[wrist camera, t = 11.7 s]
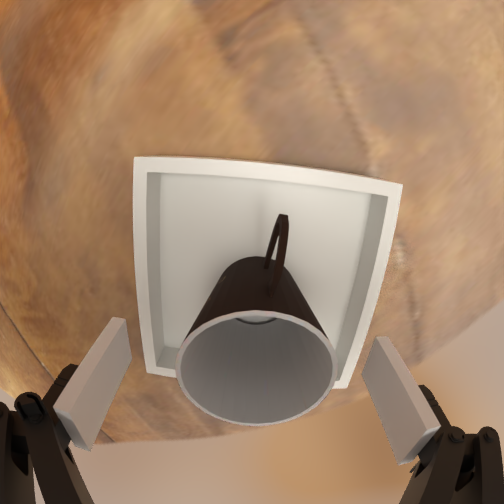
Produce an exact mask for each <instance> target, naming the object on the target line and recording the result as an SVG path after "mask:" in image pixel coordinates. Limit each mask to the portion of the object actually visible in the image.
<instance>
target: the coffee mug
mask: <svg viewBox="0 0 504 504" xmlns="http://www.w3.org/2000/svg"><path fill="white" fill-rule="evenodd" d="M288 234H289V219H288V215H285V214H279V215H278V218H277V220H276V223H275V225H274V228H273V231H272V235H271V238H270V242H269V245H268V249H267V252H266V256H265V257H261V256H252V257H246V258H243V259H240V260H238V261H236V262H234V263H232V264H231V265H230V266H229V267H227V268H226V270H225V271H224V272H223V273H222V275H221V277H220V278H219V280H218V282H217V284H216V285H215V287H214V289H213V290H212V292H211V294H210V296H209V297H208V299H207V301H206V303H205V304H204V306H203V308H202V310H201V311H200V313H199V315H198V316H197V318H196V320H195V322H194V323H193V325H192V327H191V329H190V330H189V332H188V334H187V336H186V337H185V339H184V341H183V343H182V345H181V347H180V349H179V351H178V353H177V357H176V363H175V371H176V378H177V381H178V383H179V386H180V388H181V390H182V391H183V393H184V394H185V396H186V397H187V398H188V399H189V400H190V401H191V402H192V403H193V404H194V405H195V406H196V407H198V408H199V409H200V410H202V411H203V412H205V413H206V414H208V415H210V416H212V417H215V418H217V419H219V420H222V421H225V422H229V423H233V424H238V425H244V426H267V425H275V424H279V423H284V422H287V421H290V420H293V419H296V418H298V417H300V416H302V415H304V414H306V413H308V412H309V411H311V410H312V409H314V408H315V407H316V406H318V405H319V404H320V403H321V402H322V401H323V400H324V399H325V398H326V397H327V395H328V394H329V392H330V391H331V389H332V387H333V386H334V383H335V380H336V377H337V372H338V361H337V356H336V352H335V350H334V348H333V346H332V344H331V343H330V341H329V339H328V337H327V335H326V334H325V332H324V330H323V329H322V327H321V325H320V323H319V322H318V320H317V318H316V316H315V315H314V313H313V311H312V310H311V308H310V306H309V304H308V303H307V301H306V299H305V298H304V296H303V294H302V293H301V291H300V289H299V287H298V286H297V284H296V282H295V281H294V279H293V277H292V276H291V274H290V272H289V271H288V270H287V269H286V268H285V267H284V262H285V256H286V250H287V243H288ZM278 236H279V239H278ZM277 239H278V247H277V254H276V259H275V260H273V259H271V258H272V255H273V252H274V248H275V245H276V242H277Z"/></svg>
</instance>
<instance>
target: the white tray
mask: <svg viewBox="0 0 504 504" xmlns="http://www.w3.org/2000/svg"><path fill="white" fill-rule="evenodd" d="M402 187H403V185H402V184H399V183H396V182H392V181H388V180H385V179H381V178H376V177H371V176H365V175H360V174H354V173H348V172H342V171H335V170H329V169H322V168H315V167H308V166H300V165H292V164H283V163H274V162H264V161H254V160H242V159H229V158H214V157H195V156H165V155H151V156H139V157H134V170H133V240H134V262H135V278H136V291H137V302H138V312H139V321H140V330H141V337H142V345H143V352H144V358H145V365H146V371H147V373H151V374H156V375H162V376H168V377H174V378H176V371H175V363H176V357H177V353H178V351H179V349H180V347H181V345H182V343H183V341H184V339H185V337H186V336H187V334H188V332H189V330H190V329H191V327H192V325H193V323H194V322H195V320H196V318H197V316H198V315H199V313H200V311H201V310H202V308H203V306H204V304H205V303H206V301H207V299H208V297H209V296H210V294H211V292H212V290H213V289H214V287H215V285H216V284H217V282H218V280H219V278H220V277H221V275H222V273H223V272H224V271H225V270H226V268H227V267H229V266H230V265H231V264H232V263H234V262H236V261H238V260H240V259H243V258H246V257H252V256H261V257H265V256H266V252H267V249H268V245H269V242H270V238H271V235H272V231H273V228H274V225H275V223H276V220H277V218H278V215H279V214H285V215H288V219H289V234H288V243H287V250H286V256H285V262H284V267H285V268H286V269H287V270H288V271H289V272H290V274H291V276H292V277H293V279H294V281H295V282H296V284H297V286H298V287H299V289H300V291H301V293H302V294H303V296H304V298H305V299H306V301H307V303H308V304H309V306H310V308H311V310H312V311H313V313H314V315H315V316H316V318H317V320H318V322H319V323H320V325H321V327H322V329H323V330H324V332H325V334H326V335H327V337H328V339H329V341H330V343H331V344H332V346H333V348H334V350H335V352H336V356H337V361H338V372H337V377H336V380H335V383H334V386H333V387H332V388H347V386H348V384H349V381H350V379H351V376H352V374H353V371H354V368H355V366H356V363H357V360H358V358H359V355H360V352H361V349H362V346H363V344H364V341H365V338H366V335H367V332H368V329H369V326H370V323H371V319H372V316H373V313H374V310H375V306H376V303H377V299H378V296H379V292H380V289H381V285H382V282H383V278H384V274H385V270H386V266H387V262H388V258H389V254H390V249H391V245H392V240H393V236H394V231H395V226H396V221H397V216H398V210H399V205H400V199H401V193H402ZM278 239H279V236H278ZM278 239H277V242H276V245H275V248H274V252H273V255H272V258H271V259H273V260H275V259H276V254H277V247H278Z"/></svg>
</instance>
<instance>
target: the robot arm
mask: <svg viewBox="0 0 504 504" xmlns="http://www.w3.org/2000/svg"><path fill="white" fill-rule="evenodd" d="M131 361H132V355H131V349H130V344H129V337H128V331H127V324H126V319H123V318H117V317H112V318H111V320H110V321H109V323H108V324H107V325H106V327H105V328H104V330H103V331H102V332H101V334H100V335H99V337H98V338H97V340H96V341H95V343H94V344H93V345H92V347H91V348H90V350H89V351H88V353H87V354H86V356H85V357H84V359H83V360H82V362H81V363H80V365H79V366H78V365H74V364H70V365H68V366H67V367H65V368H64V369H63V370H62V371H61V373H60V374H59V375H58V378H56V380H55V381H54V384H52V386H51V387H50V389H49V390H48V392H47V393H46V395H45V396H44V398H43V399H42V400H41V398H40V396H39V395H37V394H36V393H33V392H25V393H23V394H21V395H19V396H18V397H17V398H16V400H15V403H14V407H15V409H16V410H17V411H10V410H9V409H8V407H7V406H6V404H4V403H3V402H0V504H36V502H35V492H34V479H33V468H34V471H35V474H36V478H37V481H38V484H39V487H40V490H41V493H42V495H43V498H44V501H45V504H94V502H93V500H92V498H91V496H90V494H89V492H88V490H87V488H86V486H85V483H84V481H83V479H82V477H81V475H80V472H79V470H78V468H77V465H76V463H75V460H74V458H73V455H72V453H71V450H70V448H69V447H68V445H69V442H70V440H72V442H73V443H74V445H75V446H76V447H79V448H82V449H84V450H87V451H91V449H92V446H93V444H94V442H95V439H96V437H97V435H98V432H99V430H100V428H101V425H102V423H103V421H104V419H105V416H106V414H107V412H108V410H109V407H110V405H111V403H112V401H113V399H114V396H115V394H116V392H117V390H118V388H119V386H120V384H121V381H122V379H123V377H124V375H125V373H126V371H127V369H128V367H129V365H130V363H131ZM362 377H363V379H364V381H365V384H366V386H367V388H368V391H369V393H370V396H371V398H372V400H373V403H374V405H375V407H376V410H377V413H378V415H379V417H380V420H381V422H382V425H383V427H384V430H385V432H386V435H387V438H388V440H389V443H390V445H391V448H392V451H393V453H394V456H395V458H396V461H397V464H398V465H401V464H405V463H409V462H412V461H413V460H414V459H415V457H416V456H417V455H418V456H419V458H420V461H419V462H418V463H417V464H416V465H415V466H414V467H413V468H412V469H411V471H410V473H412V472H413V471H414V473H413V475H412V477H411V480H410V482H409V484H408V486H407V488H406V490H405V492H404V495H403V497H402V499H401V501H400V503H399V504H504V477H503V476H504V475H503V464H502V455H501V447H500V441H499V436H498V433H497V432H496V430H495V429H493V428H492V427H483V428H481V430H480V431H479V432H478V433H477V434H465V432H464V431H463V430H462V429H460V428H458V427H455V426H451V425H450V423H449V421H448V419H447V418H446V416H445V414H444V413H443V411H442V409H441V407H440V406H439V405H438V402H437V401H436V400H435V397H434V396H433V394H432V392H431V391H430V390H429V389H428V388H427V387H425V386H424V385H417V383H416V381H415V380H414V378H413V376H412V375H411V373H410V371H409V370H408V368H407V366H406V365H405V363H404V361H403V360H402V358H401V357H400V355H399V353H398V352H397V350H396V349H395V347H394V345H393V344H392V342H391V341H390V339H389V338H388V336H381V337H375V340H374V343H373V346H372V348H371V351H370V354H369V356H368V359H367V361H366V364H365V367H364V369H363V372H362ZM414 469H415V470H414Z"/></svg>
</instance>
